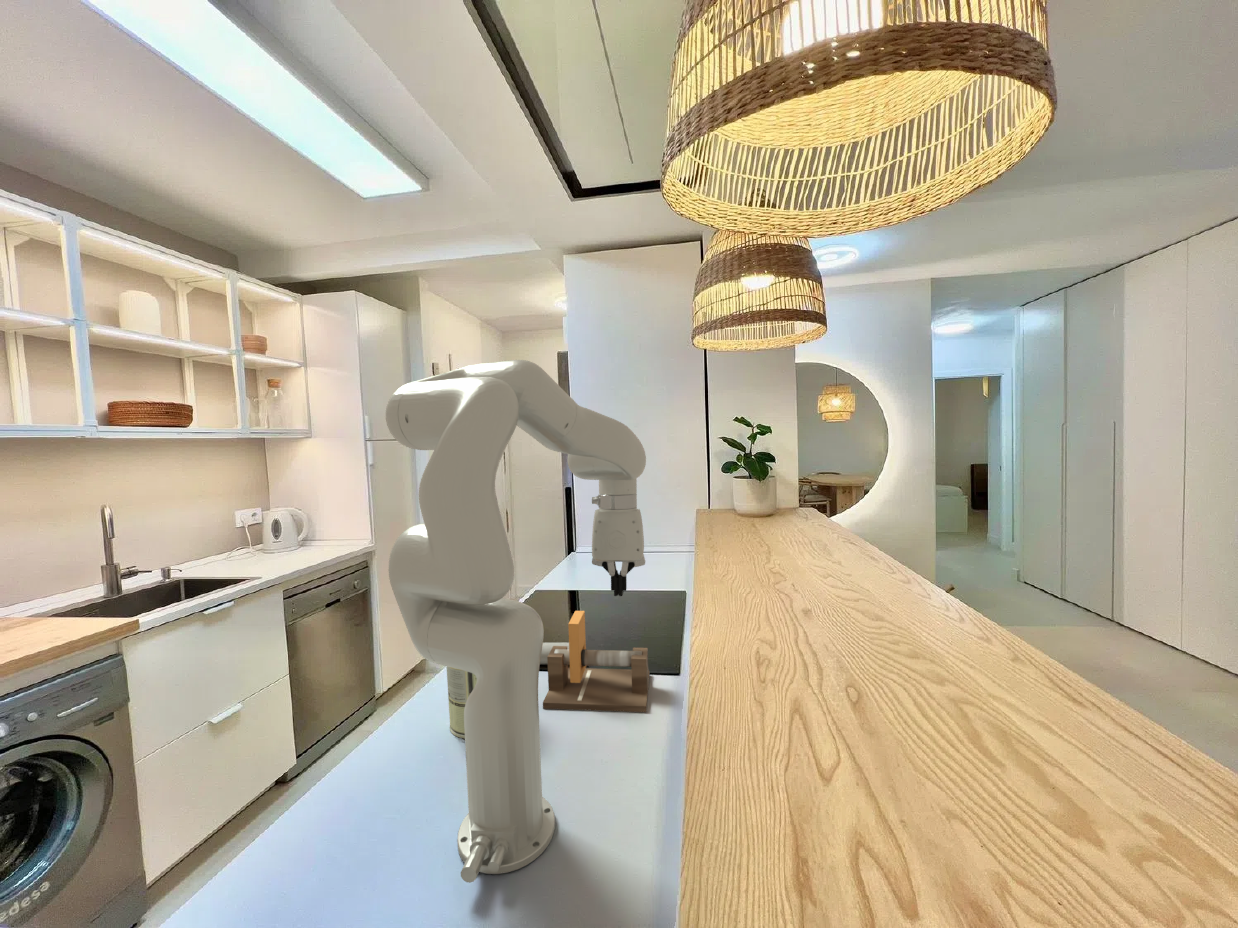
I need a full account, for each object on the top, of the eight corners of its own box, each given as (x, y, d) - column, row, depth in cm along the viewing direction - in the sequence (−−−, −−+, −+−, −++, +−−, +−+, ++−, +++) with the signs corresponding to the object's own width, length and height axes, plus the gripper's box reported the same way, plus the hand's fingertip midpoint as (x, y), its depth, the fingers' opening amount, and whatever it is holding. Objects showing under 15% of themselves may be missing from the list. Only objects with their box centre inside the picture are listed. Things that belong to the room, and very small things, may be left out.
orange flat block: (580, 682, 96) (578, 623, 95) (570, 682, 96) (568, 623, 95) (586, 665, 103) (584, 610, 102) (577, 665, 103) (575, 610, 102)
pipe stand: (646, 712, 91) (645, 668, 91) (542, 708, 93) (541, 665, 93) (649, 675, 105) (648, 636, 105) (559, 672, 107) (558, 635, 107)
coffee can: (475, 701, 97) (472, 633, 96) (517, 713, 92) (514, 641, 91) (436, 731, 87) (432, 655, 86) (481, 745, 83) (477, 665, 82)
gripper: (577, 504, 93) (578, 599, 94) (654, 505, 92) (655, 600, 92) (584, 500, 101) (585, 588, 101) (656, 501, 99) (656, 589, 100)
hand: (618, 594), depth 97 cm, fingers closed
